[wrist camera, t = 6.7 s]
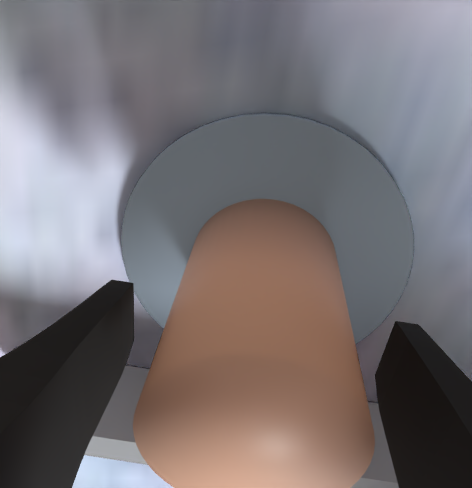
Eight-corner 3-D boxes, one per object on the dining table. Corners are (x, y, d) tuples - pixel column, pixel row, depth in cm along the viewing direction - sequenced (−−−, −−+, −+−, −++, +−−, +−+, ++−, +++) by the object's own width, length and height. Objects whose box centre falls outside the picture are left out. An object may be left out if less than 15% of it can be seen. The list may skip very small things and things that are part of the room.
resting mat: (455, 137, 13) (460, 140, 12) (367, 377, 18) (368, 384, 17) (121, 92, 13) (117, 94, 13) (126, 341, 18) (123, 348, 18)
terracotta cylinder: (352, 210, 14) (408, 377, 8) (319, 330, 16) (341, 527, 10) (197, 188, 14) (132, 335, 8) (187, 310, 16) (133, 494, 10)
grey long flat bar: (476, 418, 18) (514, 501, 15) (465, 436, 19) (501, 519, 16) (13, 348, 19) (-38, 415, 16) (17, 368, 19) (-31, 436, 16)
